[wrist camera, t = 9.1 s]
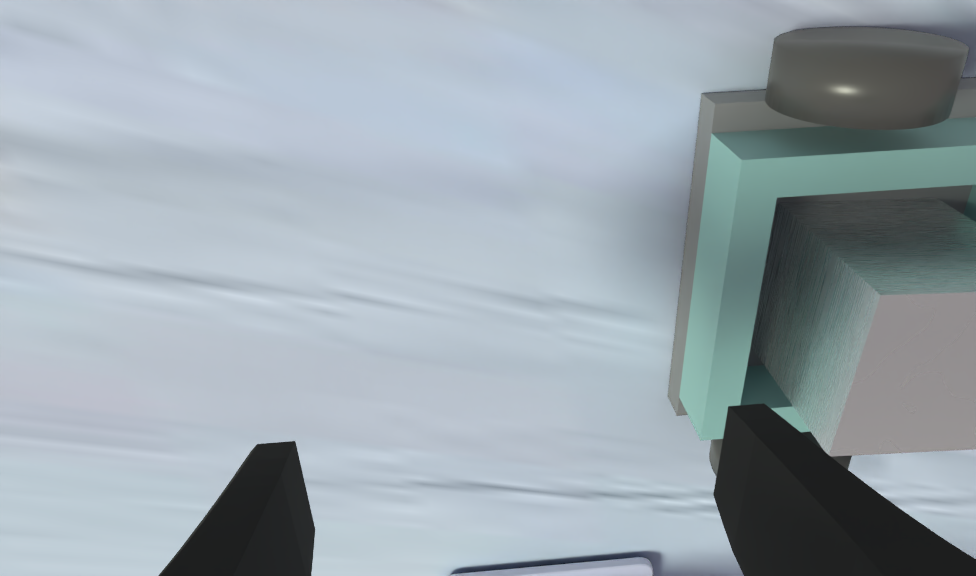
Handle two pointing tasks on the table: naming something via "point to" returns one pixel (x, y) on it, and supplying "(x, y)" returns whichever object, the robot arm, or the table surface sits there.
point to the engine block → (873, 323)
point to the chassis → (806, 186)
